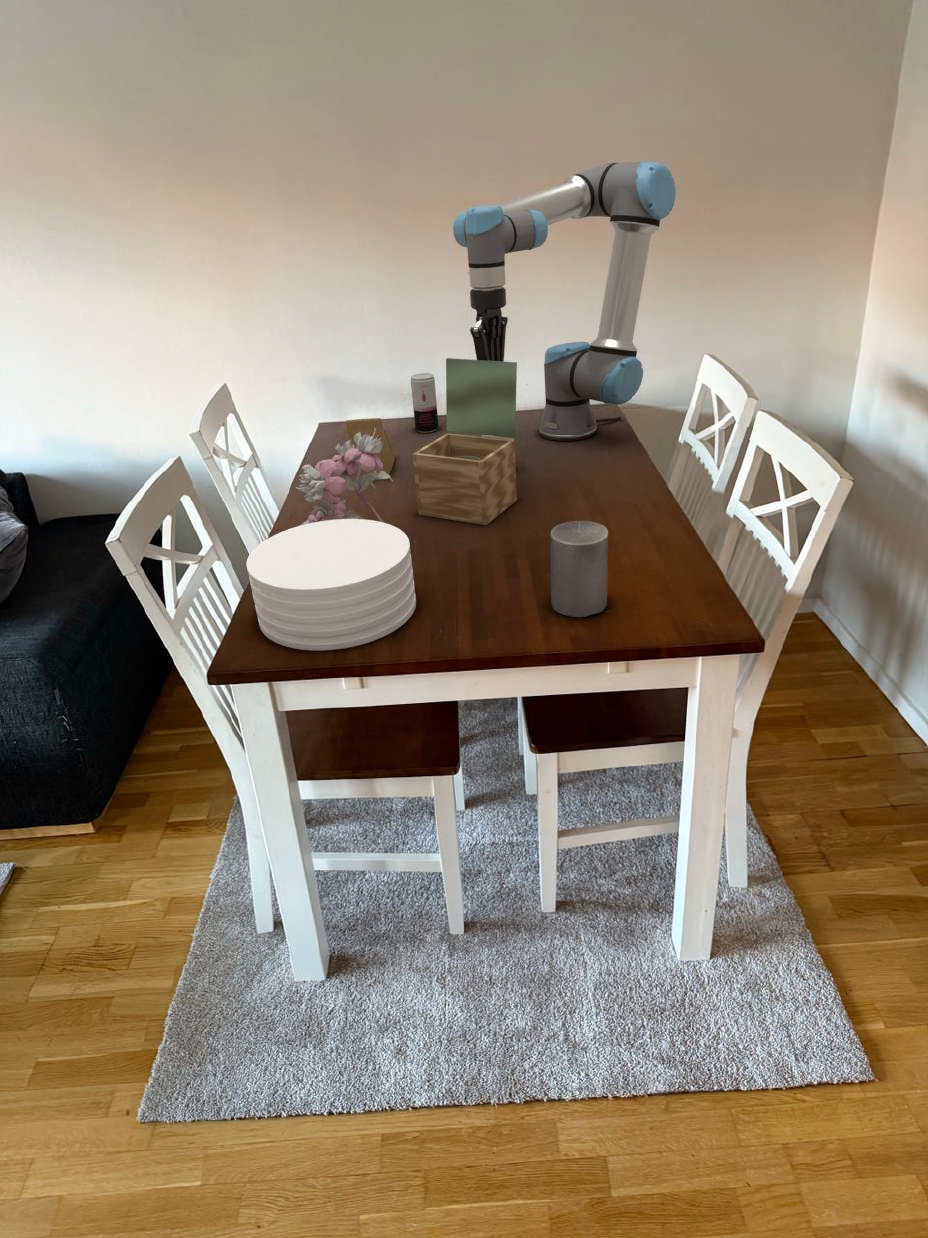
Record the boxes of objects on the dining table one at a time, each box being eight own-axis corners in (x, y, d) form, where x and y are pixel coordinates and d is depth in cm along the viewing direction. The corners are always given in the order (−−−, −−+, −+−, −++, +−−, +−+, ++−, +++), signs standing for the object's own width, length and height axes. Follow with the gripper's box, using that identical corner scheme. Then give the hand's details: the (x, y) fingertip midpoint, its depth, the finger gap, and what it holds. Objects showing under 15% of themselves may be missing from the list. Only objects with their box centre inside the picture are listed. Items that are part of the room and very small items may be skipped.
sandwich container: (396, 457, 225) (389, 399, 218) (388, 478, 212) (381, 418, 204) (363, 458, 226) (356, 401, 218) (353, 479, 212) (345, 419, 205)
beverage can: (441, 426, 246) (436, 372, 239) (435, 433, 240) (430, 378, 233) (419, 425, 247) (414, 372, 240) (412, 433, 242) (407, 379, 235)
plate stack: (417, 641, 143) (410, 580, 137) (248, 658, 142) (234, 596, 137) (414, 567, 167) (408, 512, 162) (269, 581, 167) (258, 526, 161)
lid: (515, 362, 180) (517, 362, 181) (445, 358, 188) (447, 357, 189) (513, 438, 186) (515, 437, 187) (446, 431, 194) (448, 430, 195)
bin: (486, 525, 183) (482, 462, 176) (418, 514, 191) (412, 453, 184) (517, 500, 194) (514, 439, 187) (452, 491, 201) (447, 432, 195)
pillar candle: (560, 588, 156) (559, 510, 149) (613, 595, 153) (615, 515, 145) (543, 613, 148) (541, 533, 141) (599, 621, 145) (600, 539, 137)
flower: (370, 501, 195) (309, 413, 179) (437, 514, 180) (376, 420, 164) (313, 565, 188) (244, 480, 173) (377, 585, 173) (308, 494, 157)
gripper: (486, 282, 188) (491, 390, 199) (456, 292, 178) (463, 406, 190) (517, 282, 184) (521, 393, 196) (488, 293, 175) (494, 409, 186)
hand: (492, 399), depth 193 cm, fingers closed
